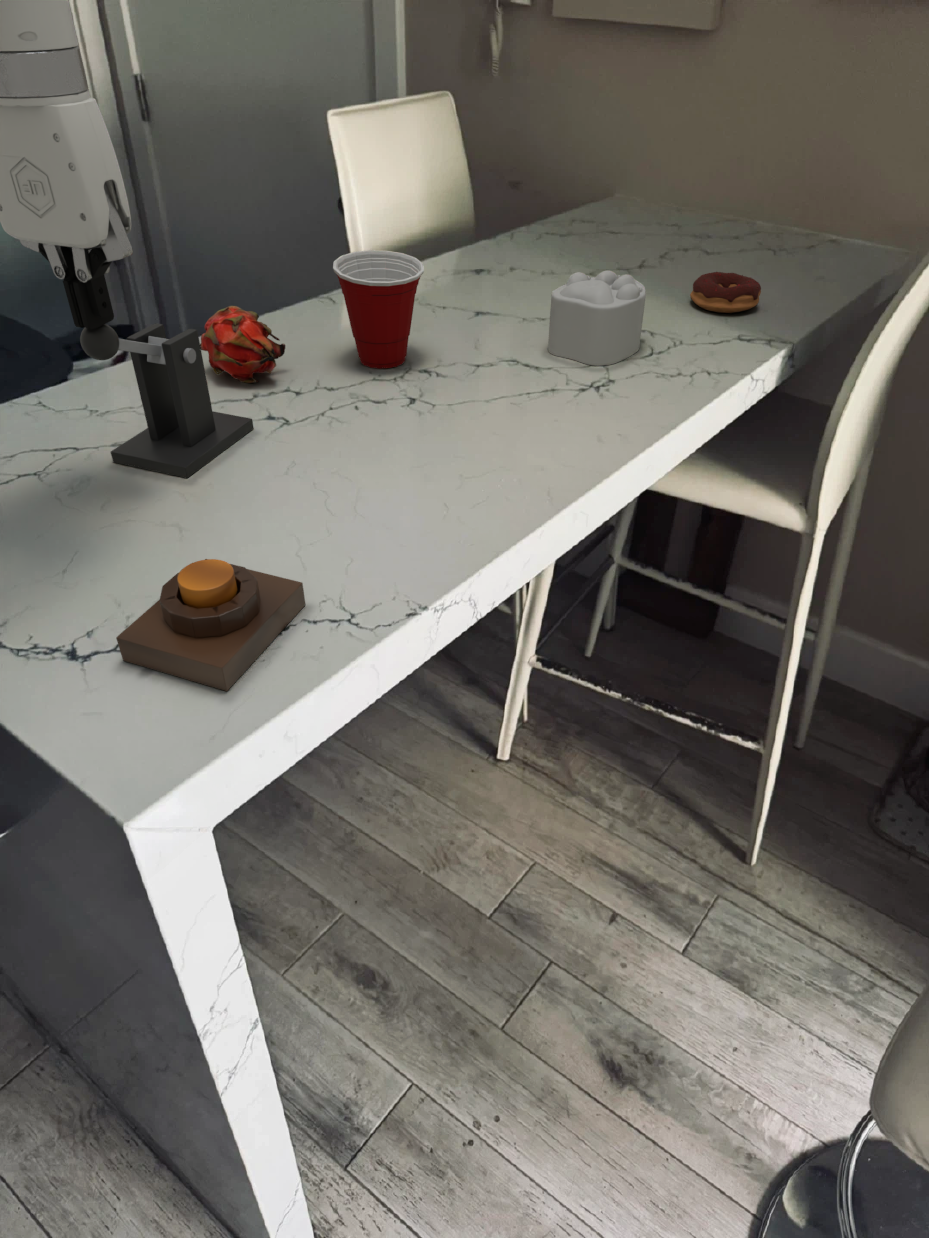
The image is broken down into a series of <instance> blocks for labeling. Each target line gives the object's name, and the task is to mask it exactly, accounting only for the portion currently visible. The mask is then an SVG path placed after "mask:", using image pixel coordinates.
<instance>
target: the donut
mask: <svg viewBox="0 0 929 1238" xmlns="http://www.w3.org/2000/svg"><path fill="white" fill-rule="evenodd" d="M761 293H762V287H761V284H760V282H759V281H756V279H754V278H753V277H749V276H746V275H744V274H742V275H741V274H739V273H736V272H723V271H722V272H721V271H714V272H708V273H703V274H700V275H699V277H697V278H696V279H695V280H694V281H693V283H692V291H691V292H690V294H689V296H690V300H692V301H693V303H694V304H695V305H697V306H698V307H699V308H701V309H704V310H707V311H709V312H715V313H722V314H732V313H739V312H744V311H748V310H750V309H752V308H754V307H756V306H757V305H758V303H759V302H760V296H761Z"/></svg>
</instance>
